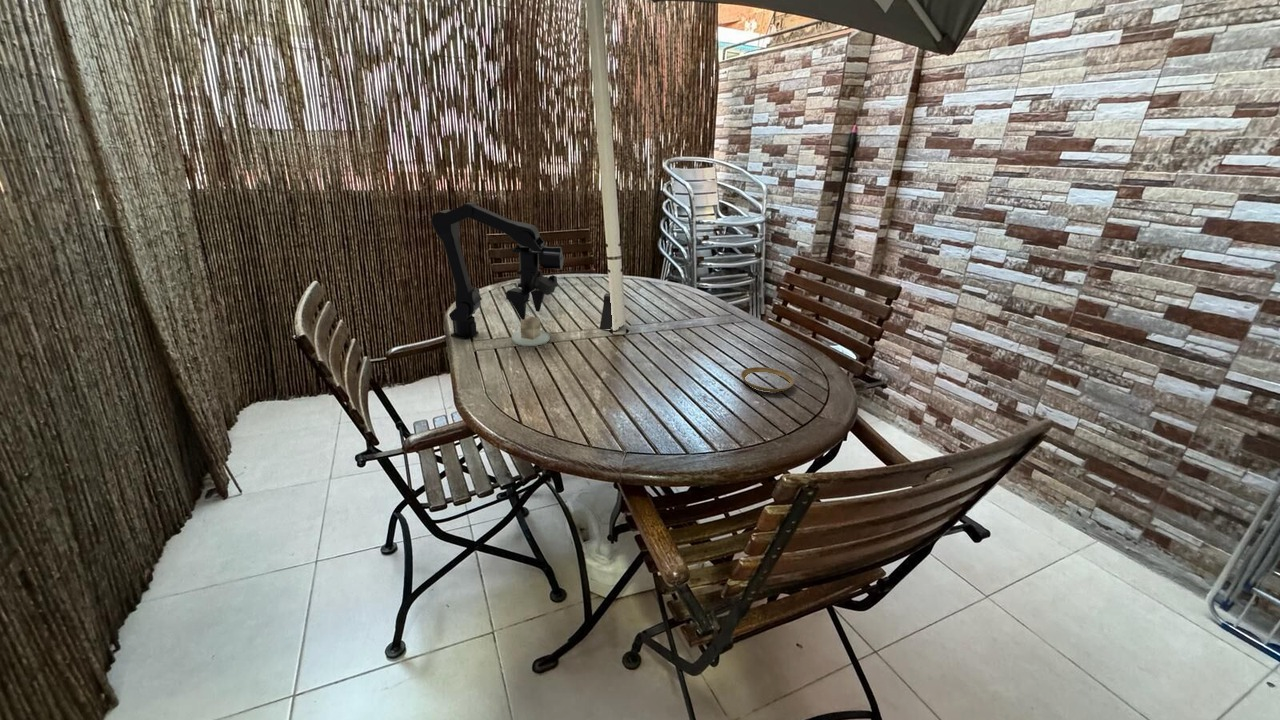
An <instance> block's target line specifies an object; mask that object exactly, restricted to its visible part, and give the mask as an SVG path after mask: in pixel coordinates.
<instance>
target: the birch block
mask: <svg viewBox="0 0 1280 720" xmlns="http://www.w3.org/2000/svg"><path fill="white" fill-rule="evenodd" d="M520 331H521V338H527V339H532V340H534V339H535V338H537V337H539V336H540V331H541V318H540V317H536V316H529V315H526V316H525V319H524V320H522V319H521V318H520Z"/></svg>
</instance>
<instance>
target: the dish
mask: <svg viewBox="0 0 1280 720" xmlns="http://www.w3.org/2000/svg"><path fill="white" fill-rule="evenodd" d="M511 341H513V342H514V343H515V344H514V343H513V342H512V343H513V344H514V345H516V344H518V346H520V345H522V346H521V347H526V346H534V347H539V346H538V345H541V346H543V345H542V344H544V345H546V344H548V343H549V342H550V334H549V333H548V332H545V331H543V330H540V336H539V337H537V338H535V339H534V340H532V339H527V338H521V330H520V331H517V332H514V333H513V334H512V335H511ZM548 341H549V342H548ZM547 342H548V343H547ZM545 343H546V344H545Z"/></svg>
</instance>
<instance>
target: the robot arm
mask: <svg viewBox="0 0 1280 720" xmlns="http://www.w3.org/2000/svg"><path fill="white" fill-rule="evenodd" d="M466 219H471V220H473V221H476V222H478V223H480V224H482V225H485V226H487V227H490V228H492V229H494V230H496V231H499V232H501V233H503V234H505V235H506V236H508V237H510V239H511V240H513V241H514V242H516V243H517V244H516V247H514V248H513V249H512V250H511V252H512V253H514V254H515V253H518V254H519V256H518V257H519V270H516V274H517V275H519V283H517V287H518V288H517V287H512V288H510V289H508V290H507V291H506V292H505V299H506V300H507V301H508V302H510V303H511V304H512V305H513V307H514V309H515V310H516V312H517V314H518V316H519V318H520V320H521V319H522V320H524V319H525V317H526V313H527V304H528V303H529V302H530V301H531V299H529V298H530V294H531V298H532V303H533V306H534V310H535V312H536V313H537V312H540V311H541V308H542V304H543V301H544V298H545V296H550V294H552V293H554V292H555V289H556V287H558V286H559V285H558V277H557V275H555V274H552V275H550V276H549V277H548V276H544V275H543V271H542V269H547V270H563V269H564V268H563V267H564V257H565V256H564V255H563V254H564V253H563V249H562V248H563V247H562V246H547V243H546V242H545V240H543V238H542V236H540V235H541V234H540V231H539V228H538V227H537V226H535V224H531V223H526V222H523V221H516V220H515V221H514V220H512V219H509V218H507V217H504V216H503V215H500V214H498V213H496V212H493V211H490V210H489V209H486V208H484V207H481V206H479V205H477V204H476V203H474V202H466V203H464V204H462V205H461V206H459V207H456V208H454V209H445V210H441V211H437V212H435V213H434V214H432V217H431V218H430V220H431V225H432V227H433V229H434V232H435V234H436V235H437V236H436V237H438V238H439V239H440V240H441V242H442V244H443V247H444V250H445V254H446V258H447V260H448V264H449V268H450V271H451V275H452V278H453V283H454V285H455V295H454V302H455V308H454V309H453V310H452V311H450V313H449V314H448V315H449V318H450V320H451V321H452V328H453V333H450V337H454V336H455V338H458V339H459V338H460V339H465V340H469V339H470V338H472V337H474V336H476V335H478V334H479V331H478V330H477V322H476V321H475V319H476V318H475V316H473V315H475V314H476V311H477V310H478V309H479V308H480V307H481V305H482V300H483V298H482V296H481V294H480V288H479V287H477V288H476V287H474V286H473V285H472V283H471V280H470V277H469V273H468V269H467V264H466V263H465V262H466V261H465V258H464V255H463V250H462V246H461V243H460V240H459V238H460V230H461V228H460V222H461V221H464V220H466ZM540 267H542V269H540Z"/></svg>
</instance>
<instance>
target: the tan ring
mask: <svg viewBox="0 0 1280 720" xmlns="http://www.w3.org/2000/svg"><path fill="white" fill-rule="evenodd" d="M754 372H768V373H773V374H776V375H779V376H782V377H784V378H786V379H787V380H788V381H789V382H790V386H789V387H787V388H781V389H771V388H764V387H760V386H756V385H754V384H751V383H749V382H747V381H746V380H745V377H746V376H747V375H748V374H750V373H754ZM740 376H741V378H742V380H743V381H744V382H745V384H746V385H747V384H748V385H749V386H751V387H753V388H756V389H759V390H763V391H770V392H778V391H783V392H785V391H786V390H789V389H790V388H791V387H792V386H794V382H795V381H794V379H793V377H792V376H791V375H789V374H787V373H786V372H784V371H781V370H778V369H775V368H771V367H765V366H756V367H755V366H754V367H749V368H748V367H747V368H746V369H743V370H742V371H741V373H740ZM748 385H747V386H748ZM749 386H748V387H749ZM784 390H785V391H784Z"/></svg>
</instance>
